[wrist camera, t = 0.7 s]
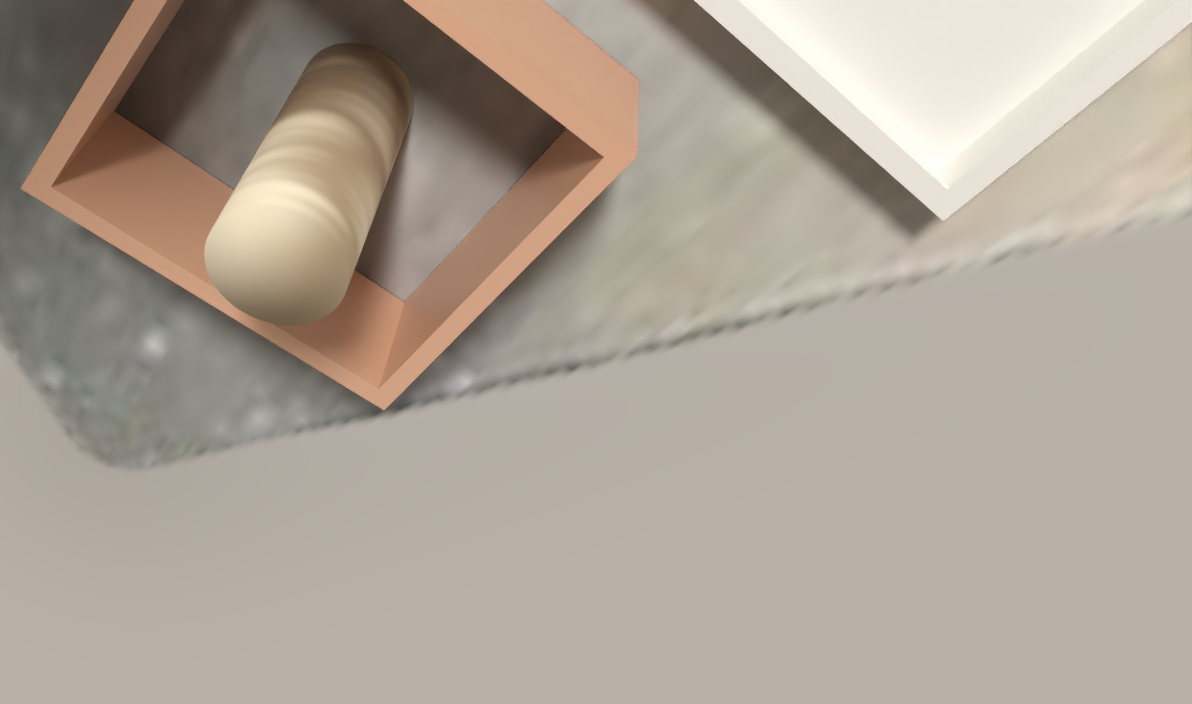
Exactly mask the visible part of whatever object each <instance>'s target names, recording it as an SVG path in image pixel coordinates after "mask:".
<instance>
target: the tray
mask: <svg viewBox="0 0 1192 704" xmlns="http://www.w3.org/2000/svg"><path fill="white" fill-rule="evenodd" d="M694 1H695V2H696V3H698V4H699V5H700V6H701V7H702V8H703V9H704V10H705V11H707V12H708V13H709V14H710V15H711V16H712V17H713V18H715V19H716V20H717V21H718V22H719V23H720V24H721V25H722V26H724V27H725V28H726V29H727V30H728V31H729V32H730V33H731V34H733V35H734V36H735V37H736V38H737V39H738V40H739V41H740V42H742V43H743V44H744V45H745V46H746V47H747V48H748V49H750V50H751V51H752V52H753V53H754V54H755V55H756V56H757V57H759V58H760V59H761V60H762V61H763V62H764V63H765V64H766V65H768V66H769V67H770V68H771V69H772V70H773V71H774V72H775V73H777V74H778V75H779V76H780V77H781V78H782V79H783V80H784V81H786V82H787V83H788V84H789V85H790V86H791V87H792V88H794V89H795V90H796V91H797V92H798V93H799V94H800V95H801V96H803V97H804V98H805V99H806V100H807V101H808V102H809V103H810V104H812V105H813V106H814V107H815V108H816V109H817V110H818V111H819V112H821V113H822V114H823V115H824V116H825V117H826V118H827V119H829V120H830V121H831V122H832V123H833V124H834V125H835V126H836V127H838V128H839V129H840V130H841V131H842V132H843V133H844V134H845V135H847V136H848V137H849V138H850V139H851V140H852V141H853V142H854V143H856V144H857V145H858V146H859V147H860V148H861V149H862V150H863V151H865V152H866V153H867V154H868V155H869V156H870V157H871V158H873V159H874V160H875V161H876V162H877V163H878V164H879V165H880V166H882V167H883V168H884V169H885V170H886V171H887V172H888V173H889V174H891V175H892V176H893V177H894V178H895V179H896V180H897V181H898V182H900V183H901V184H902V185H903V186H904V187H905V188H906V189H907V190H909V191H910V192H911V193H912V194H913V195H914V196H915V197H917V198H918V199H919V200H920V201H921V202H922V203H923V204H924V205H926V206H927V207H928V208H929V209H930V210H931V211H932V212H933V213H935V214H936V215H937V216H938V217H939V218H940V219H941V220H942V221H944V220H945V219H946V218H948V217H949V216H950V215H951V214H953V213H954V212H955V211H956V210H958V209H959V208H960V207H961V206H963V205H964V204H965V203H966V202H968V201H969V200H970V199H971V198H973V197H974V196H975V195H976V194H978V193H979V192H980V191H981V190H983V189H984V188H985V187H986V186H988V185H989V184H990V183H991V182H993V181H994V180H995V179H996V178H998V177H999V176H1000V175H1001V174H1003V173H1004V172H1005V171H1006V170H1008V169H1009V168H1010V167H1011V166H1013V165H1014V164H1015V163H1016V162H1018V161H1019V160H1020V159H1021V158H1023V157H1024V156H1025V155H1026V154H1028V153H1029V152H1030V151H1031V150H1033V149H1034V148H1035V147H1036V146H1038V145H1039V144H1040V143H1041V142H1043V141H1044V140H1045V139H1046V138H1048V137H1049V136H1050V135H1051V134H1053V133H1054V132H1055V131H1056V130H1058V129H1059V128H1060V127H1061V126H1063V125H1064V124H1065V123H1066V122H1068V121H1069V120H1070V119H1071V118H1073V117H1074V116H1075V115H1076V114H1078V113H1079V112H1080V111H1081V110H1083V109H1084V108H1085V107H1086V106H1087V105H1089V104H1090V103H1091V102H1092V101H1094V100H1095V99H1096V98H1097V97H1099V96H1100V95H1101V94H1102V93H1104V92H1105V91H1106V90H1107V89H1109V88H1110V87H1111V86H1112V85H1114V84H1115V83H1116V82H1117V81H1119V80H1120V79H1121V78H1122V77H1124V76H1125V75H1126V74H1127V73H1129V72H1130V71H1131V70H1132V69H1134V68H1135V67H1136V66H1137V65H1139V64H1140V63H1141V62H1142V61H1144V60H1145V59H1146V58H1147V57H1149V56H1150V55H1151V54H1152V53H1154V52H1155V51H1156V50H1157V49H1159V48H1160V47H1161V46H1162V45H1164V44H1165V43H1166V42H1167V41H1169V40H1170V39H1171V38H1172V37H1174V36H1175V35H1176V34H1177V33H1179V32H1180V31H1181V30H1182V29H1184V28H1185V27H1186V26H1187V25H1189V24H1190V23H1191V22H1192V0H694Z"/></svg>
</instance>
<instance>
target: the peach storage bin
mask: <svg viewBox="0 0 1192 704" xmlns="http://www.w3.org/2000/svg"><path fill="white" fill-rule="evenodd" d="M184 1H185V0H134V1H133V3H132V4H131V6H130V8H129V9H128V11H127V13H126V14H125V16H124V18H123V19H122V21H121V23H120V24H119V26H118V28H117V29H116V31H115V33H114V34H113V36H112V38H111V39H110V41H109V43H108V44H107V46H106V48H105V49H104V51H103V53H102V54H101V56H100V58H99V59H98V61H97V63H96V64H95V66H94V68H93V69H92V71H91V73H90V74H89V76H88V77H87V79H86V81H85V82H84V84H83V86H82V87H81V89H80V91H79V92H78V94H77V96H76V97H75V99H74V101H73V102H72V104H71V106H70V107H69V109H68V111H67V112H66V114H65V116H64V117H63V119H62V121H61V122H60V124H59V126H58V127H57V129H56V131H55V132H54V134H53V136H52V137H51V139H50V141H49V142H48V144H47V146H46V147H45V149H44V151H43V152H42V154H41V155H40V157H39V159H38V160H37V162H36V164H35V165H34V167H33V169H32V170H31V172H30V174H29V175H28V177H27V179H26V180H25V182H24V184H23V185H22V187H21V189H22V190H24V191H25V192H27V193H29V194H30V195H32V196H33V197H35V198H37V199H38V200H40V201H42V202H43V203H45V204H47V205H48V206H50V207H51V208H53V209H55V210H56V211H58V212H60V213H61V214H63V215H65V216H66V217H68V218H69V219H71V220H73V221H74V222H76V223H78V224H79V225H81V226H83V227H84V228H86V229H88V230H89V231H91V232H92V233H94V234H96V235H97V236H99V237H101V238H102V239H104V240H106V241H107V242H109V243H110V244H112V245H114V246H115V247H117V248H119V249H120V250H122V251H124V252H125V253H127V254H128V255H130V256H132V257H133V258H135V259H137V260H138V261H140V262H142V263H143V264H145V265H147V266H148V267H150V268H151V269H153V270H155V271H156V272H158V273H160V274H161V275H163V276H165V277H166V278H168V279H169V280H171V281H173V282H174V283H176V284H178V285H179V286H181V287H183V288H184V289H186V290H187V291H189V292H191V293H192V294H194V295H196V296H197V297H199V298H201V299H202V300H204V301H205V302H207V303H209V304H210V305H212V306H214V307H215V308H217V309H219V310H220V311H222V312H224V313H225V314H227V315H228V316H230V317H232V318H233V319H235V320H237V321H238V322H240V323H242V324H243V325H245V326H246V327H248V328H250V329H251V330H253V331H255V332H256V333H258V334H260V335H261V336H263V337H264V338H266V339H268V340H269V341H271V342H273V343H274V344H276V345H278V346H279V347H281V348H283V349H284V350H286V351H287V352H289V353H291V354H292V355H294V356H296V357H297V358H299V359H301V360H302V361H304V362H305V363H307V364H309V365H310V366H312V367H314V368H315V369H317V370H319V371H320V372H322V373H323V374H325V375H327V376H328V377H330V378H332V379H333V380H335V381H337V382H338V383H340V384H341V385H343V386H345V387H346V388H348V389H350V390H351V391H353V392H355V393H356V394H358V395H360V396H361V397H363V398H364V399H366V400H368V401H369V402H371V403H373V404H374V405H376V406H378V407H379V408H381V409H382V410H385V409H386V408H387V407H388V406H389V405H390V404H391V403H392V402H393V401H394V400H395V399H396V398H397V397H398V396H399V395H400V394H401V393H402V392H403V391H404V390H405V389H406V388H407V387H408V386H409V385H410V384H411V383H412V382H413V381H414V380H415V379H416V378H417V377H418V376H419V375H420V374H421V373H422V372H423V371H424V370H425V369H426V368H427V367H428V366H429V365H430V364H431V363H432V362H433V361H434V360H435V359H436V358H437V357H438V356H439V355H440V354H441V353H442V352H443V351H444V350H445V349H446V348H447V347H448V346H449V345H450V344H451V343H452V342H453V341H454V340H455V339H456V338H457V337H458V336H459V335H460V334H461V333H462V332H463V331H464V330H465V329H466V328H467V327H468V326H469V325H470V324H471V323H472V322H473V321H474V320H475V319H476V318H477V317H478V316H479V315H480V314H481V313H482V311H483V310H484V309H485V308H486V307H487V306H488V305H489V304H490V303H491V302H492V301H493V300H494V299H495V298H496V297H497V296H498V295H499V294H500V293H501V292H502V291H503V290H504V289H505V288H506V287H507V286H508V285H509V284H510V283H511V282H512V281H513V280H514V279H515V278H516V277H517V276H518V275H519V274H520V273H521V272H522V271H523V270H524V269H525V268H526V267H527V266H528V265H529V264H530V263H531V262H532V261H533V260H534V259H535V258H536V257H537V256H538V255H539V254H540V253H541V252H542V251H543V250H544V249H545V248H546V247H547V246H548V245H549V244H550V243H551V242H552V241H553V240H554V239H555V238H556V237H557V236H558V235H559V234H560V233H561V232H562V231H563V230H564V229H565V228H566V227H567V226H568V225H569V224H570V223H571V222H572V221H573V220H574V219H575V218H576V217H577V216H578V215H579V214H580V213H581V212H582V211H583V210H584V209H585V208H586V207H587V206H588V205H589V204H590V203H591V202H592V201H593V200H594V199H595V198H596V197H597V196H598V195H599V194H600V193H601V192H602V191H603V190H604V189H605V188H606V187H607V186H608V185H609V184H610V183H611V182H612V181H613V180H614V179H615V178H616V177H617V176H618V175H619V174H620V173H621V172H622V171H623V170H624V169H625V168H626V167H627V166H628V165H629V164H630V163H631V162H632V161H633V160H634V159H635V158H636V157H637V149H638V107H639V80H638V79H637V78H636V77H634V76H633V75H632V74H631V73H629V72H628V71H627V70H626V69H625V68H623V67H622V66H621V65H620V64H619V63H617V62H616V61H615V60H614V59H613V58H611V57H610V56H609V55H608V54H607V53H605V52H604V51H603V50H602V49H600V48H599V47H598V46H597V45H596V44H594V43H593V42H592V41H591V40H590V39H588V38H587V37H586V36H585V35H584V34H582V33H581V32H580V31H579V30H578V29H576V28H575V27H574V26H573V25H572V24H570V23H569V22H568V21H567V20H565V19H564V18H563V17H562V16H561V15H559V14H558V13H557V12H556V11H555V10H553V9H552V8H551V7H550V6H549V5H547V4H546V3H545V2H544V1H543V0H403V1H405V2H406V3H407V4H409V5H410V6H411V7H412V8H414V9H415V10H416V11H418V12H419V13H420V14H421V15H423V16H424V17H425V18H427V19H428V20H429V21H430V22H432V23H433V24H434V25H435V26H437V27H438V28H439V29H441V30H442V31H443V32H444V33H446V34H447V35H448V36H450V37H451V38H452V39H453V40H455V41H456V42H457V43H459V44H460V45H461V46H462V47H464V48H465V49H466V50H467V51H469V52H470V53H471V54H473V55H474V56H475V57H476V58H478V59H479V60H480V61H482V62H483V63H484V64H485V65H487V66H488V67H489V68H490V69H492V70H493V71H494V72H496V73H497V74H498V75H499V76H501V77H502V78H503V79H505V80H506V81H507V82H508V83H510V84H511V85H512V86H514V87H515V88H516V89H517V90H519V91H520V92H521V93H522V94H524V95H525V96H526V97H528V98H529V99H530V100H531V101H533V102H534V103H535V104H537V105H538V106H539V107H540V108H542V109H543V110H544V111H546V112H547V113H548V114H549V115H551V116H552V117H553V118H554V119H556V120H557V121H558V122H560V123H561V124H562V125H563V126H565V127H566V128H567V129H566V130H565V131H564V132H563V133H562V134H561V135H560V136H559V137H558V138H557V139H556V140H555V142H554V143H553V144H552V145H551V146H550V147H549V148H548V149H547V150H546V151H545V152H544V153H543V154H542V155H541V157H540V158H539V159H538V160H537V161H536V162H535V163H534V164H533V165H532V166H531V167H530V168H529V169H528V171H527V172H526V173H525V174H524V175H523V176H522V177H521V178H520V179H519V180H518V181H517V182H516V183H515V184H514V186H513V187H512V188H511V189H510V190H509V191H508V192H507V193H506V194H505V195H504V196H503V197H502V198H501V200H500V201H499V202H498V203H497V204H496V205H495V206H494V207H493V208H492V209H491V210H490V211H489V212H488V213H487V215H486V216H485V217H484V218H483V219H482V220H481V221H480V222H479V223H478V224H477V225H476V226H475V227H474V229H473V230H472V231H471V232H470V233H469V234H468V235H467V236H466V237H465V238H464V239H463V240H462V241H461V243H460V244H459V245H458V246H457V247H456V248H455V249H454V250H453V251H452V252H451V253H450V254H449V255H448V256H447V258H446V259H445V260H444V261H443V262H442V263H441V264H440V265H439V266H438V267H437V268H436V269H435V270H434V272H433V273H432V274H431V275H430V276H429V277H428V278H427V279H426V280H425V281H424V282H423V283H422V284H421V285H420V287H419V288H418V289H417V290H416V291H415V292H414V293H413V294H412V295H411V296H410V297H409V298H408V299H407V301H406V302H405V303H404V302H403V301H401V300H400V299H398V298H397V297H395V296H394V295H392V294H391V293H389V292H388V291H386V290H385V289H383V288H382V287H380V286H379V285H377V284H375V283H374V282H372V281H371V280H369V279H368V278H366V277H365V276H363V275H362V274H360V273H359V272H357V271H356V270H354V272H353V275H352V277H351V280H350V283H349V285H348V288H347V291H346V294H345V296H344V298H343V300H342V301H341V303H340V304H339V305H338V307H337V308H336V309H335V310H334V311H333V312H332V313H330V314H329V315H327V316H326V317H324V318H322V319H320V320H318V321H315V322H312V323H308V324H303V325H278V324H273V323H268V322H265V321H262V320H259V319H256V318H254V317H252V316H249V315H247V314H246V313H244V312H242V311H240V310H239V309H238V308H236V307H235V306H233V305H232V304H231V303H230V302H229V301H227V300H226V299H225V298H224V297H223V296H222V295H221V294H220V292H219V291H218V290H217V288H216V287H215V285H214V284H213V282H212V280H211V279H210V276H209V274H208V272H207V268H206V265H205V258H204V250H205V244H206V240H207V237H208V235H209V233H210V231H211V229H212V228H213V226H214V224H215V222H216V221H217V219H218V217H219V216H220V214H221V212H222V210H223V209H224V207H225V205H226V204H227V202H228V200H229V198H230V197H231V195H232V193H233V192H234V190H233V189H231V188H230V187H228V186H227V185H225V184H224V183H222V182H221V181H219V180H218V179H216V178H215V177H213V176H212V175H210V174H209V173H207V172H206V171H204V170H203V169H201V168H199V167H198V166H196V165H195V164H193V163H192V162H190V161H189V160H187V159H186V158H184V157H183V156H181V155H180V154H178V153H177V152H175V151H174V150H172V149H171V148H169V147H168V146H166V145H165V144H163V143H162V142H160V141H159V140H157V139H155V138H154V137H152V136H151V135H149V134H148V133H146V132H145V131H143V130H142V129H140V128H139V127H137V126H136V125H134V124H133V123H131V122H130V121H128V120H127V119H125V118H124V117H122V116H121V115H119V114H118V113H116V112H115V110H116V108H117V106H118V105H119V103H120V102H121V100H122V99H123V97H124V95H125V94H126V92H127V91H128V89H129V88H130V86H131V84H132V83H133V81H134V80H135V78H136V76H137V75H138V73H139V72H140V70H141V69H142V67H143V65H144V64H145V62H146V61H147V59H148V57H149V56H150V54H151V53H152V51H153V50H154V48H155V46H156V45H157V43H158V42H159V40H160V39H161V37H162V35H163V34H164V32H165V31H166V29H167V27H168V26H169V24H170V23H171V21H172V20H173V18H174V16H175V15H176V13H177V12H178V10H179V8H180V7H181V5H182V4H183V2H184Z"/></svg>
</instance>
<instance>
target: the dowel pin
mask: <svg viewBox="0 0 1192 704" xmlns="http://www.w3.org/2000/svg"><path fill="white" fill-rule="evenodd" d="M413 107H414V99H413V92H412V89H411V86H410V83H409V81H408V79H407V77H406V75H405V74H404V72H403V71H402V69H401V68H400V67H399V66H398V65H397V64H396V63H395V62H394V61H393V60H392V59H391V58H390V57H388V56H387V55H385V54H384V53H382V52H380V51H379V50H377V49H374V48H372V47H369V46H366V45H362V44H355V43H343V44H337V45H333V46H330V47H328V48H325V49H323V50H322V51H320V52H319V53H317V54H316V55H315V56H314V57H313V58H312V59H311V60H310V62H309V63H308V65H307V66H306V68H305V70H304V71H303V73H302V75H301V77H300V78H299V80H298V82H297V83H296V85H295V87H294V89H293V90H292V92H291V94H290V95H289V97H288V99H287V101H286V102H285V104H284V106H283V107H282V109H281V111H280V113H279V114H278V116H277V118H276V119H275V121H274V123H273V125H272V126H271V128H270V130H269V132H268V133H267V135H266V137H265V138H264V140H263V142H262V144H261V145H260V147H259V149H258V150H257V152H256V154H255V156H254V157H253V159H252V161H251V162H250V164H249V166H248V168H247V169H246V171H245V173H244V174H243V176H242V178H241V180H240V181H239V183H238V185H237V186H236V188H235V190H234V192H233V193H232V195H231V197H230V198H229V200H228V202H227V204H226V205H225V207H224V209H223V210H222V212H221V214H220V216H219V217H218V219H217V221H216V222H215V224H214V226H213V228H212V229H211V231H210V233H209V235H208V237H207V240H206V244H205V250H204V258H205V265H206V268H207V272H208V274H209V276H210V279H211V280H212V282H213V284H214V285H215V287H216V288H217V290H218V291H219V292H220V294H221V295H222V296H223V297H224V298H225V299H226V300H227V301H229V302H230V303H231V304H232V305H233V306H235V307H236V308H238V309H239V310H240V311H242V312H244V313H246V314H247V315H249V316H252V317H254V318H256V319H259V320H262V321H265V322H268V323H273V324H278V325H303V324H308V323H312V322H315V321H318V320H320V319H322V318H324V317H326V316H327V315H329V314H330V313H332V312H333V311H334V310H335V309H336V308H337V307H338V305H339V304H340V303H341V301H342V300H343V298H344V296H345V294H346V291H347V288H348V285H349V283H350V280H351V277H352V275H353V272H354V269H355V267H356V264H357V261H358V259H359V256H360V253H361V251H362V248H363V245H364V243H365V240H366V237H367V235H368V232H369V229H370V227H371V224H372V221H373V219H374V216H375V213H376V211H377V208H378V205H379V203H380V200H381V197H382V195H383V192H384V189H385V187H386V184H387V181H388V179H389V176H390V173H391V171H392V168H393V165H394V163H395V160H396V157H397V155H398V152H399V149H400V147H401V144H402V141H403V139H404V136H405V133H406V131H407V128H408V125H409V123H410V120H411V117H412V114H413Z"/></svg>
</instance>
